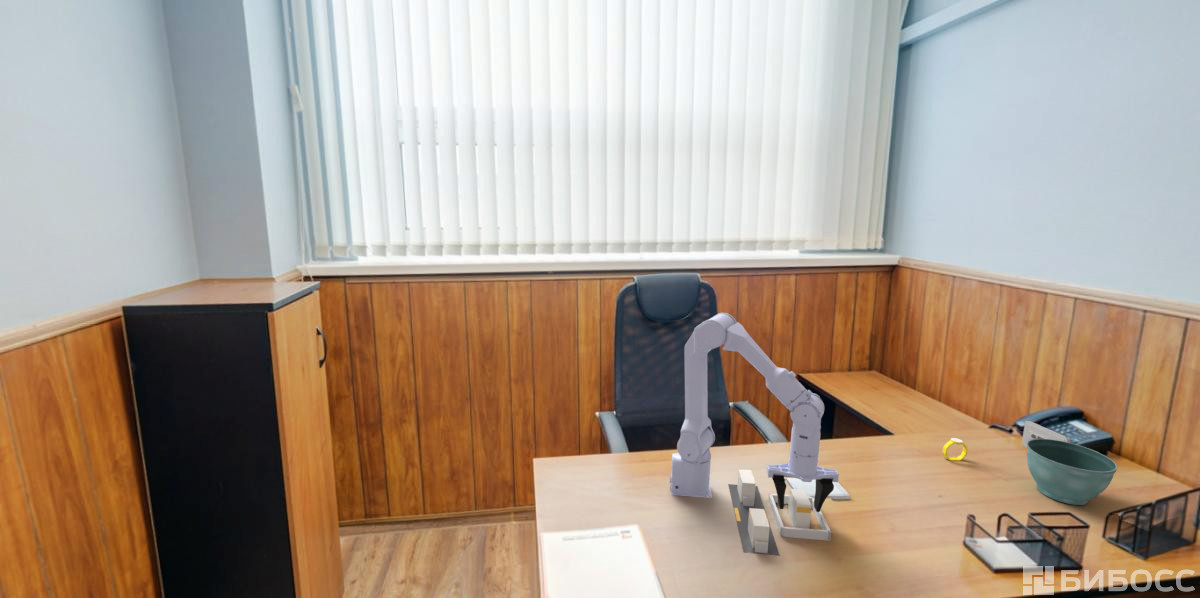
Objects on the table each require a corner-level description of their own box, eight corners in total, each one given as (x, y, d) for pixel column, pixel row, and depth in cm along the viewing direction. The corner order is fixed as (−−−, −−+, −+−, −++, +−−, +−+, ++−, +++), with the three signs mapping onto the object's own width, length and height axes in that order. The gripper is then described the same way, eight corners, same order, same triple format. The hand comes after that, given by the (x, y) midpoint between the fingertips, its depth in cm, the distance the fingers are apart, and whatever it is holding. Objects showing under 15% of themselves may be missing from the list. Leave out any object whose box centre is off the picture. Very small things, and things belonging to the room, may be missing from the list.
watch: (959, 458, 144) (964, 438, 143) (967, 463, 142) (971, 443, 140) (938, 456, 144) (943, 436, 143) (945, 461, 141) (950, 441, 140)
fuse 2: (752, 547, 105) (754, 525, 104) (747, 529, 111) (749, 508, 110) (767, 549, 105) (769, 526, 104) (762, 530, 110) (763, 509, 109)
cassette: (1019, 444, 152) (1023, 420, 151) (1024, 444, 152) (1029, 419, 151) (1061, 465, 141) (1066, 439, 139) (1066, 464, 141) (1072, 438, 139)
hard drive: (798, 495, 123) (850, 494, 123) (785, 477, 131) (833, 476, 131) (798, 502, 123) (849, 501, 124) (784, 483, 131) (832, 482, 132)
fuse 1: (740, 502, 120) (742, 482, 120) (737, 488, 126) (738, 469, 125) (754, 503, 120) (755, 483, 119) (749, 489, 126) (751, 470, 125)
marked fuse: (794, 529, 111) (797, 504, 110) (787, 512, 117) (789, 488, 116) (809, 530, 111) (811, 505, 109) (801, 513, 117) (803, 489, 115)
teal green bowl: (1090, 486, 130) (1099, 446, 128) (1121, 522, 116) (1131, 477, 114) (1011, 471, 137) (1018, 433, 135) (1031, 503, 122) (1039, 461, 120)
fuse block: (743, 554, 104) (744, 543, 103) (728, 486, 128) (728, 476, 128) (779, 557, 103) (780, 546, 102) (757, 488, 127) (757, 478, 127)
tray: (780, 538, 109) (781, 528, 108) (768, 503, 121) (769, 493, 121) (830, 543, 108) (831, 532, 107) (812, 506, 120) (813, 496, 120)
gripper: (773, 457, 108) (768, 516, 111) (846, 462, 106) (839, 521, 109) (766, 441, 115) (762, 497, 118) (834, 446, 113) (828, 502, 116)
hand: (798, 507), depth 114 cm, fingers open, 7 cm apart
